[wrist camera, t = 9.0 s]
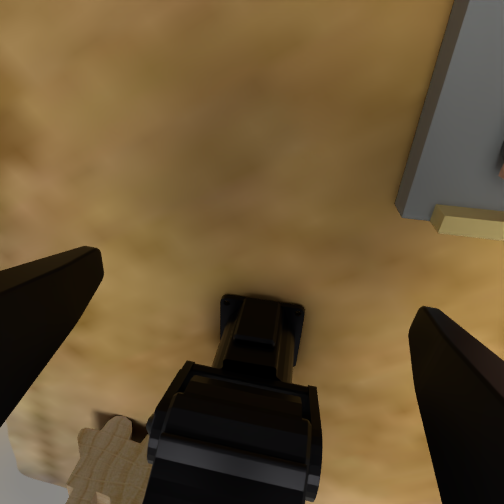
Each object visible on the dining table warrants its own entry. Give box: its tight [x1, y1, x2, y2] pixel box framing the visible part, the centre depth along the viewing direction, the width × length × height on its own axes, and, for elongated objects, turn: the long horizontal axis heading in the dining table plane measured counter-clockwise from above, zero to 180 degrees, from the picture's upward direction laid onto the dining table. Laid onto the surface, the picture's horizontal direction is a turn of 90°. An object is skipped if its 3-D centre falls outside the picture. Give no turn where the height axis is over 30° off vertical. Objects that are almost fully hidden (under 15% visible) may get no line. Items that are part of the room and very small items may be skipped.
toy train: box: [66, 416, 153, 504], centre depth 35 cm, size 6×17×10 cm, turn 78°
